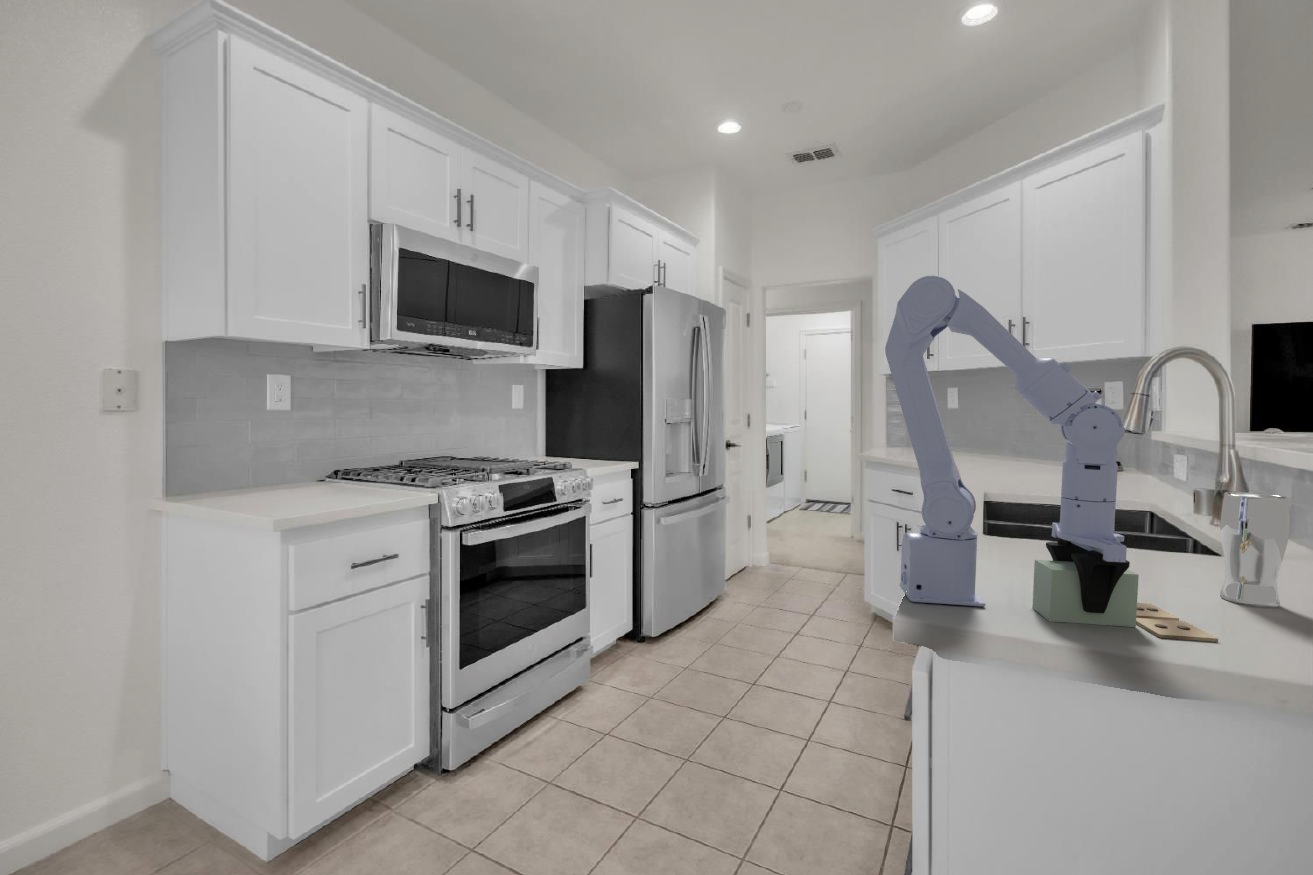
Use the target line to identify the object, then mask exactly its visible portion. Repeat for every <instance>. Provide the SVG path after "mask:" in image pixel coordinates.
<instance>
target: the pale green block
mask: <svg viewBox="0 0 1313 875" xmlns="http://www.w3.org/2000/svg"><path fill="white" fill-rule="evenodd" d="M1033 565H1034V567H1033V568H1034V570H1033V590H1032V609H1033V610H1034V611H1036V612H1037V613H1038V614H1040V615H1041V616H1042V617H1044V619H1046V620H1047V621H1049V622H1058V623H1059V622H1060V623H1072V624H1086V625H1097V626H1098V625H1100V626H1113V627H1114V626H1115V627H1126V628H1127V627H1129V628H1136V627H1137V624H1136V614H1137V603H1138V595H1139V594H1138V592H1139V577H1140V576H1139V574H1138V573H1136V572H1134V571H1131V570H1129V569H1127V570H1126V571H1125V572H1124V574H1123V575H1122V576H1121V577H1120V579H1119V580H1118V582H1117V584H1116V586H1115V588H1114V590H1113V592H1112V595H1111V597H1110V600H1109V603H1108V606H1107V608H1106V611H1105V613H1089V612H1085V611H1084V609H1083V606H1082V600H1081V586H1080V580H1079V575H1078V571H1077V568H1076V566H1075V563H1074V562H1067V561H1053V560H1048V559H1047V560H1045V559H1034V563H1033Z"/></svg>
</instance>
